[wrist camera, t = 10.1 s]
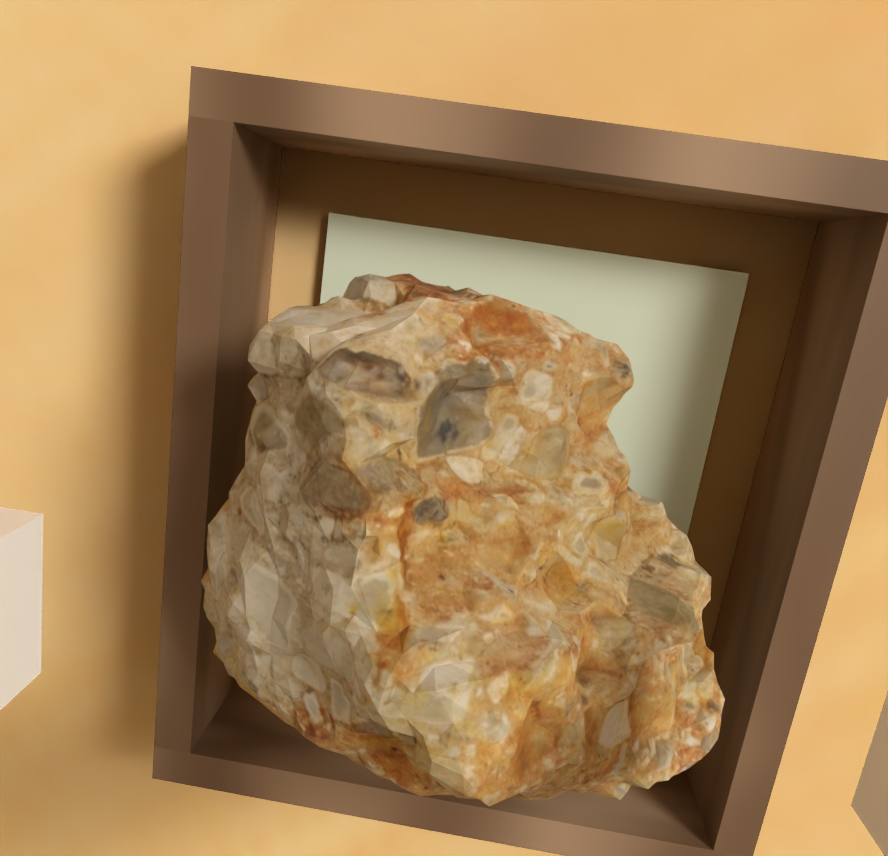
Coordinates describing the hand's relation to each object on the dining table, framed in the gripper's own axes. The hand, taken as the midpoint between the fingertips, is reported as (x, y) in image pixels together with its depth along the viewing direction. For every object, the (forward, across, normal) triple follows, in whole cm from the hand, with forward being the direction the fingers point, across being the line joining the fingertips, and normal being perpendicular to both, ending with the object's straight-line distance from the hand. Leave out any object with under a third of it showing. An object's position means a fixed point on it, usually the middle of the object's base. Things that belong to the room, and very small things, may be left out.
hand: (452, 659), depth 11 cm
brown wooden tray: (+10, +1, 0) cm, 10 cm away
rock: (+10, +1, 0) cm, 10 cm away
